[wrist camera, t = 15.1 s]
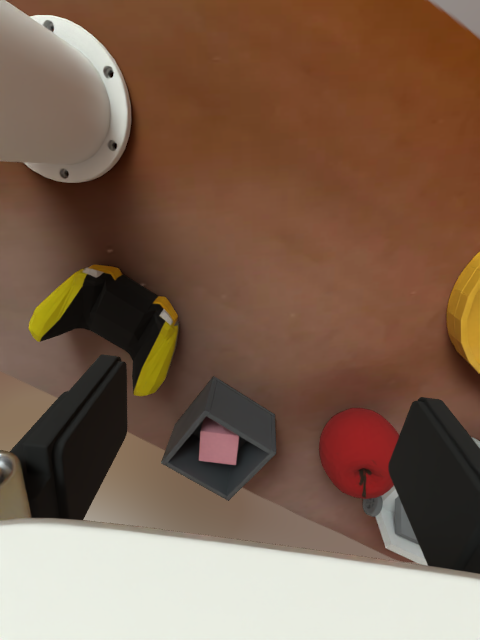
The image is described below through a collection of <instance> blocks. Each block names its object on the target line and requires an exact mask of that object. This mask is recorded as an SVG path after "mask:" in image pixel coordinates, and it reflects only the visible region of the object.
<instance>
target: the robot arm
mask: <svg viewBox="0 0 480 640" xmlns="http://www.w3.org/2000/svg"><path fill="white" fill-rule="evenodd" d="M53 28H54V31H53V32H52V30H53ZM111 72H114V74H113V77H112V78H111V77H110V73H111ZM130 128H131V103H130V98H129V93H128V89H127V86H126V83H125V80H124V78H123V75H122V73H121V71H120V69H119V67H118V65H117V64H116V62H115V60H114V58H113V57H112V56H111V55H110V53H109V52H108V51H107V49H106V48H105V47H104V46H103V45H102V44H101V43H100V42H99V41H98V40H97V39H96V38H95V37H94V36H93V35H91V34H90V33H89V32H87V31H86V30H85V29H83V28H82V27H81V26H79V25H77V24H75V23H73V22H71V21H69V20H67V19H64V18H60V17H56V16H52V15H35V16H31V17H29V16H28V15H26V14H25V13H23V12H22V11H20V10H19V9H17V8H16V7H14V6H13V5H11V4H10V3H8V2H7V1H5V0H0V161H8V162H23V163H24V164H25V165H27V166H28V167H29V168H30V169H31V170H33V171H35V172H37V173H38V174H40V175H42V176H44V177H46V178H49V179H52V180H55V181H60V182H66V183H80V182H86V181H91V180H93V179H96V178H98V177H100V176H102V175H104V174H105V173H106V172H108V171H109V170H110V169H111V168H112V167H113V166H114V165H115V164H116V163H117V162H118V160H119V159H120V157H121V155H122V154H123V152H124V150H125V148H126V145H127V142H128V139H129V136H130ZM115 143H116V144H117V149H115V148H114V144H115ZM67 171H68V173H69V176H68V175H67ZM126 433H127V369H126V363H125V362H121V358H120V357H117V356H110V355H101V356H99V358H98V359H97V360H96V361H95V362H94V363H93V364H92V366H91V367H90V368H89V369H88V370H87V371H86V372H85V373H84V375H83V376H82V377H81V378H80V379H79V380H78V381H77V383H76V384H75V385H74V386H73V387H72V388H71V389H70V390H69V391H67V392H64V393H63V394H62V395H61V396H60V397H59V398H58V399H57V400H56V401H55V402H54V403H53V404H52V406H51V407H50V408H49V409H48V410H47V411H46V412H45V413H44V414H43V415H42V417H41V418H40V419H39V420H38V421H37V422H36V423H35V424H34V425H33V427H32V428H31V429H30V430H29V431H28V432H27V433H26V434H25V435H24V437H23V438H22V439H21V440H20V441H19V442H18V443H17V444H16V445H15V446H14V448H13V449H12V450H11V451H10V452H8V451H3V450H0V640H480V448H479V447H478V445H477V444H476V443H475V442H474V440H473V439H472V438H471V437H470V435H469V434H468V433H467V431H466V430H465V429H464V428H463V426H462V425H461V424H460V423H459V421H458V420H457V419H456V418H455V416H454V415H453V414H452V413H451V411H450V410H449V409H448V407H447V406H446V405H445V404H444V402H443V401H441V400H439V399H432V398H424V397H421V398H419V399H418V401H414V402H413V403H412V405H411V407H410V410H409V413H408V415H407V418H406V420H405V423H404V425H403V428H402V430H401V433H400V436H399V438H398V441H397V443H396V446H395V448H394V451H393V453H392V456H391V459H390V461H389V465H388V470H389V475H390V477H391V480H392V482H393V484H394V487H395V489H396V491H397V494H398V496H399V498H400V501H401V503H402V505H403V508H404V510H405V513H406V515H407V517H408V520H409V522H410V524H411V527H412V529H413V531H414V534H415V536H416V539H417V541H418V543H419V546H420V548H421V550H422V553H423V555H424V557H425V560H426V562H427V564H428V566H426V565H419V564H412V563H405V562H398V561H390V560H384V559H377V558H369V557H362V556H355V555H348V554H342V553H334V552H327V551H320V550H311V549H304V548H298V547H291V546H283V545H276V544H268V543H261V542H254V541H246V540H239V539H232V538H223V537H216V536H209V535H200V534H193V533H185V532H178V531H170V530H163V529H155V528H147V527H139V526H131V525H121V524H113V523H104V522H95V521H86V520H83V519H84V517H85V515H86V513H87V511H88V509H89V507H90V505H91V503H92V501H93V499H94V497H95V495H96V493H97V492H98V490H99V488H100V485H101V484H102V482H103V480H104V478H105V476H106V474H107V472H108V470H109V468H110V466H111V464H112V462H113V460H114V458H115V457H116V455H117V452H118V451H119V449H120V447H121V445H122V443H123V441H124V439H125V436H126Z"/></svg>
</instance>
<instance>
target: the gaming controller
mask: <svg viewBox="0 0 480 640" xmlns="http://www.w3.org/2000/svg"><path fill="white" fill-rule="evenodd" d="M177 318H178V315H177V313H176V312H175V310H174V309H173V307H172V305H171V304H170V302H169V301H168V300H167V298H166V297H160V296H157V295H156V294H154V293H152V292H151V291H149V290H148V289H146V288H144V287H143V286H141V285H139V284H138V283H136V282H134V281H133V280H131V279H130V278H128V277H126V276H125V275H122V273H121V271H120V270H119V268H116V267H111V266H103V265H92V266H90V267H86V268H84V269H81V270H79V271H77V272H76V273H74V274H73V275H72V276H71V277H69V278H68V279H67V280H66V281H65V282H64V283H63V284H61V285H60V286H59V287H58V288H57V289H56V290H55V291H54V292H53V293H52V294H50V295H49V296H48V297H47V298H46V299H45V300H44V301H43V302H42V303H41V304H40V305H39V306H38V307H36V309H35V311H34V313H33V315H32V318H31V320H30V322H29V331H30V332H31V334H32V336H33V337H34V338H35V339H36V340H37V341H38V342H41V341H44V340H47V339H49V338H52V337H55V336H58V335H61V334H63V333H66V332H68V331H71V330H73V329H76V328H84V329H87V330H91V331H92V332H94V333H96V334H98V335H99V336H101V337H103V338H105V339H106V340H108V341H110V342H111V343H113V344H115V345H117V346H118V347H120V348H122V349H124V350H125V351H126V352H128V353H129V354H130V356H131V358H132V360H133V373H132V379H133V394H134V395H136V396H145V395H149V394H152V393H155V392H156V390H157V389H158V388H159V387H160V385H161V384H162V383H163V381H164V380H165V378H166V376H167V374H168V371H169V368H170V365H171V362H172V359H173V355H174V352H175V349H176V345H177V339H178V333H179V322H178V320H177Z"/></svg>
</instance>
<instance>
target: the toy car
mask: <svg viewBox="0 0 480 640" xmlns="http://www.w3.org/2000/svg"><path fill="white" fill-rule="evenodd" d="M472 439H473V440H474V442H475V443H476V444H477V445H478V447H479V448H480V441H478V440H476V439H475V438H473V437H472ZM363 509H364V512H365V513H366V514H368V515H370V516H372V517H375V516H376V519H377V523H378V526H379V529H380V532H381V535H382V538H383V541H384V544H385V547H386V549H388V550H391V551H393V552H395V553H397V554H399V555H401V556H404V557H406V558H408V559H410V560H412V561H414V562H416V563H419V564H421V565H426V566H428V564H427V562H426V560H425V557H424V555H423V553H422V550H421V548H420V546H419V543H418V541H417V539H416V536H415V534H414V531H413V529H412V527H411V524H410V522H409V520H408V517H407V515H406V513H405V510H404V508H403V505H402V503H401V501H400V498H399V496H398V494H397V491H396V489H395V487H394V486H393V487H392V488H391V489H390V490H389V491H388V492H386V493H385V494H384V495H381V496H379V497H377V498H370V499H363Z"/></svg>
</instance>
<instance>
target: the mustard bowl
mask: <svg viewBox="0 0 480 640" xmlns="http://www.w3.org/2000/svg"><path fill="white" fill-rule="evenodd" d="M446 317H447V329H448V334H449V337H450V340H451V342H452V344H453V346H454V347H455V349H456V351H457V352H458V353H459V354H460V355H461V357H462V358H464V360H465V361H466V362H467V363H468V364H469V365H470V366H471V367H472V368H473V369H475V370H476V371H477V372H478V373H479V374H480V252H479V253H478V254H477V255H476V256H475V257H474V258H473V259H472V260H471V261H470V262H469V263H468V265H467V266H466V267H465V269H464V270H463V271H462V273H461V274H460V276H459V278H458V280H457V281H456V283H455V285H454V287H453V290H452V292H451V295H450V298H449V302H448V306H447V314H446Z"/></svg>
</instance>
